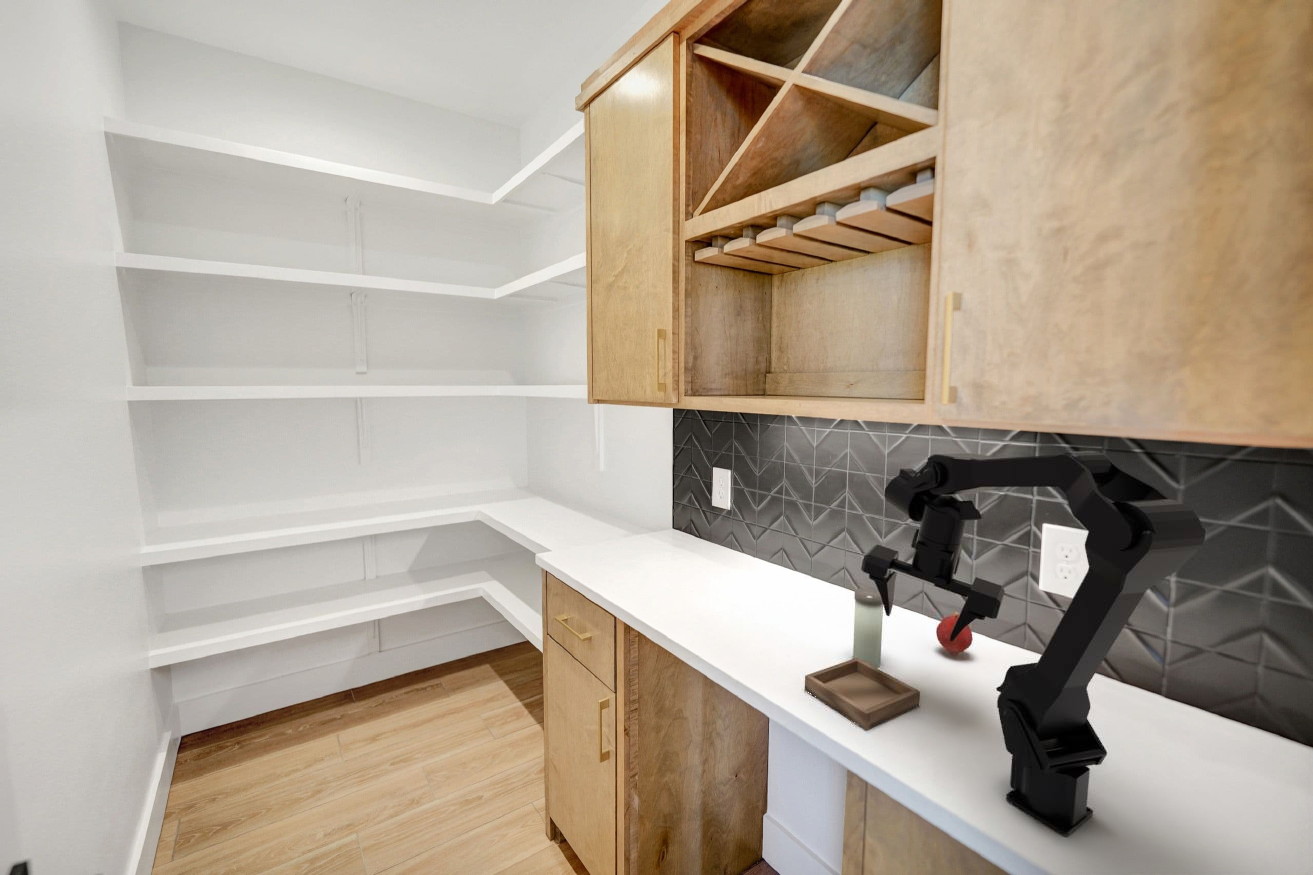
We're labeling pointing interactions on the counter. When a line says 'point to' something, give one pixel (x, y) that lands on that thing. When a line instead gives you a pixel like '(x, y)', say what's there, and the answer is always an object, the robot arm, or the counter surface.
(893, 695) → the walnut tray
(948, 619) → the onion
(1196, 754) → the counter surface
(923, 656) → the counter surface
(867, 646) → the spice jar
